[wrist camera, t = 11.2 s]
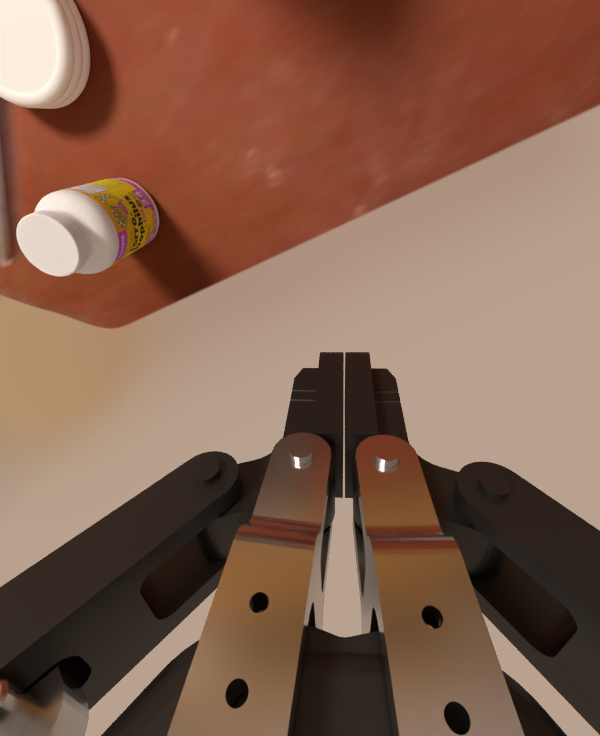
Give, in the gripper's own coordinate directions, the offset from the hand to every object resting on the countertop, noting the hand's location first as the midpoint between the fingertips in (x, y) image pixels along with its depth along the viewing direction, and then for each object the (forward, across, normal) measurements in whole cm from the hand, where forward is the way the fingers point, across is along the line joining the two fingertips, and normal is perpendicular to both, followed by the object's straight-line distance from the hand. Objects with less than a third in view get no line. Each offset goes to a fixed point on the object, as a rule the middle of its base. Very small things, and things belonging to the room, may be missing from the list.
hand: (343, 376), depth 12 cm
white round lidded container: (+30, +26, -14) cm, 42 cm away
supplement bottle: (+29, +22, 0) cm, 37 cm away
